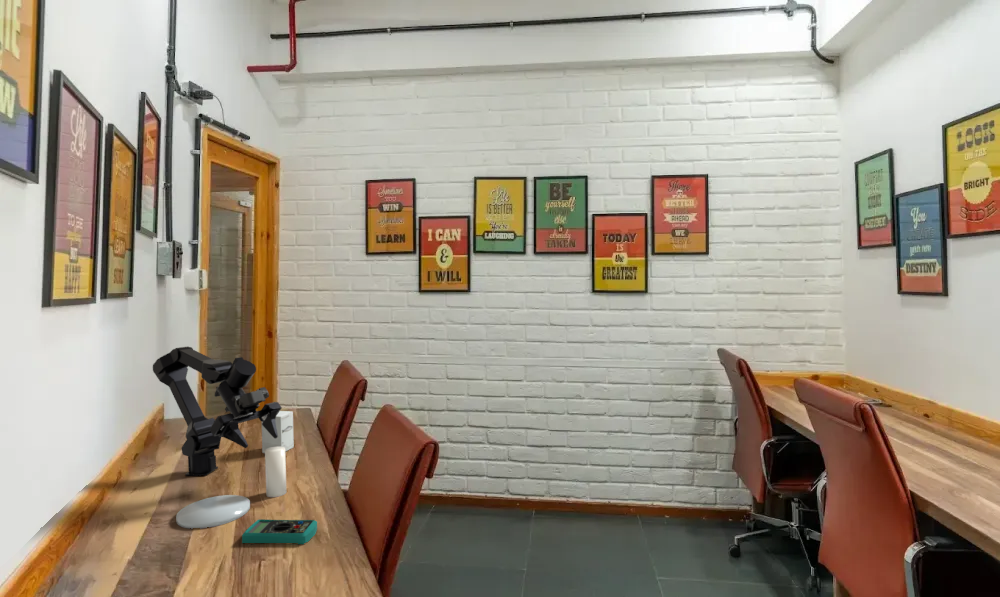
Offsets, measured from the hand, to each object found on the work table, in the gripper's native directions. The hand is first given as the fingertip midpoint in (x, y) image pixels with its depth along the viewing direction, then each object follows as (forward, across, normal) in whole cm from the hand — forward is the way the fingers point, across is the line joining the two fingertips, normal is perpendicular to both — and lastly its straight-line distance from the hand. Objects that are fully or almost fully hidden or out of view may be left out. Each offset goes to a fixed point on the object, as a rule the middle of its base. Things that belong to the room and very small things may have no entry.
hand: (262, 442), depth 144 cm
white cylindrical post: (+13, 0, +6) cm, 14 cm away
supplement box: (-8, +24, +27) cm, 37 cm away
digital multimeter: (+28, -15, -9) cm, 33 cm away
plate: (+10, -15, +8) cm, 20 cm away
